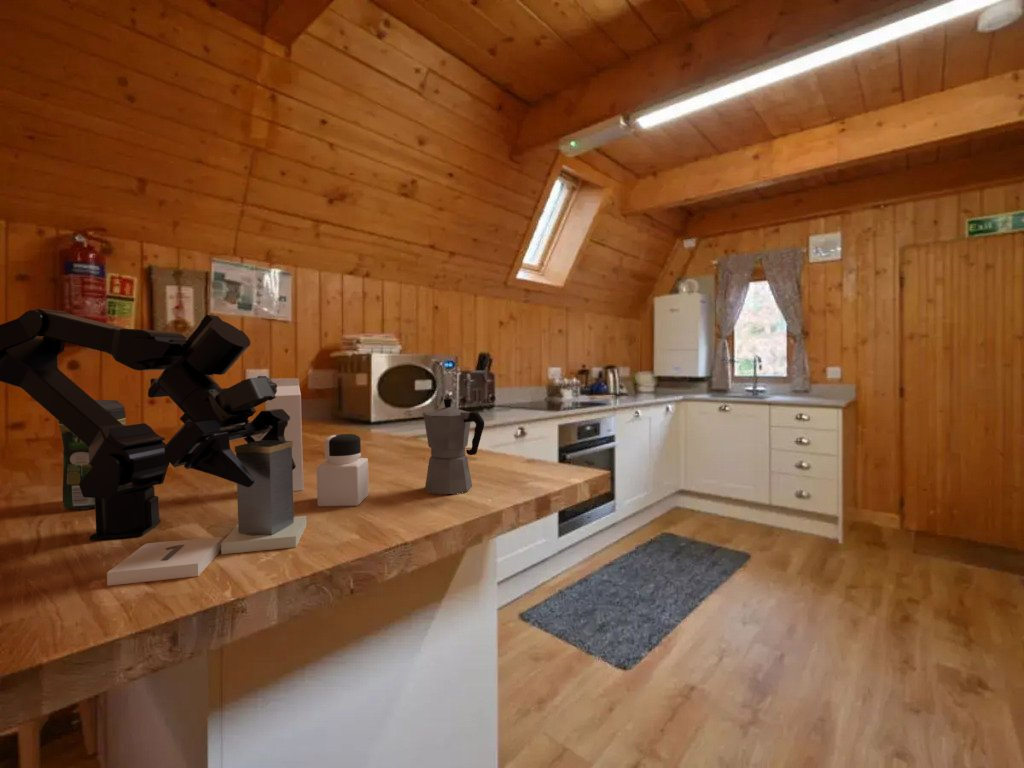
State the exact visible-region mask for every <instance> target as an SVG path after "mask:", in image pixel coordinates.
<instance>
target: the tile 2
mask: <svg viewBox="0 0 1024 768" xmlns="http://www.w3.org/2000/svg"><path fill="white" fill-rule="evenodd" d="M306 527H307V515H303V516H302V515H300V516H294V523H292V524H290V525H288V526H287V527H285V528H283V529H281V530H279V531H278V532H276V533H274V534H272V535H269V534H248V533H239V530H238V524H237V525H236V526H235V527H234V528H233V529H232V530H231V531H230V533H228V535H227V536H225V538H223V541H222V543H221V551H220V553H221V555H231V554H239V553H249V552H261V551H269V550H282V549H292V548H297V546H298V544H299V542H300V539H301V538H302V536H303V533H305V530H306Z"/></svg>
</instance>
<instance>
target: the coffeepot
mask: <svg viewBox="0 0 1024 768" xmlns="http://www.w3.org/2000/svg"><path fill="white" fill-rule="evenodd" d="M452 401H453V398H450V397H445V398H444V399H443V403H444V407H442V408H439V409H434V410H430V411H425V412H422V416H423V421H424V425H425V426H424V427H425V433H426V439H427V445H428V448H430V455H431V456H430V457H429V460H428V466H427V470H426V471H427V473H426V478H425V485H424V490H425V491H426V492H427V491H428V492H427V493H429V492H430V493H429V494H431V493H433V494H432V495H436V494H455V495H458V494H457V493H461V494H463V493H462V492H465V493H467V492H466V491H468V490H469V489H470V488H471V489H472V487H473V483H472V477H471V471H470V466H469V460H468V456H467V455H469V456H473V455H474V456H475V455H477V453H478V451H479V446H480V441H481V438H482V434H483V432H484V427H485V420H484V419H483V417H482V416H481V414H480V413H479V412H478V411H477V412H476V411H466V410H463V409H459V408H455V407H452ZM472 422H474V424H475V427H474V432H473V438H472V440H471V448H470V449H466V448H467V447H468V443H469V437H470V436H469V435H470V431H471V430H470V429H471V423H472ZM466 454H467V455H466ZM471 489H470V490H471ZM470 490H469V491H470ZM469 491H468V492H469Z"/></svg>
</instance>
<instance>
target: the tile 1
mask: <svg viewBox="0 0 1024 768" xmlns="http://www.w3.org/2000/svg"><path fill="white" fill-rule="evenodd" d="M223 540H224V536H215V537H206V538H196V539H195V538H193V539H184V540H183V539H182V540H172V541H171V540H170V541H160V542H159V541H157V542H149V543H148V542H147V543H144V544H143V545H142V546H140V547H139V548H138V549H136V550H135V551H133V552H132V553H131V554H130V555H128V556H127V557H125V558H124V559H123V560H122V561H121V562H119V563H117V565H115V566H114V567H113V568H111V569H110V570H108V571H107V572H106V578H107V579H106V581H107V587H108V586H118V585H126V584H137V583H138V584H139V583H145V582H146V583H147V582H155V581H164V580H174V579H184V578H185V579H186V578H194V577H199V576H200V575H201V574H202V573H203V572H204V570H205V569H206V568H207V567H208V566H209V565H210V564H211V562H212V561H214V559H215V558H216V557H217V556H218V554H219V553H221V543H222V541H223Z"/></svg>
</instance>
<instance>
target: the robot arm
mask: <svg viewBox="0 0 1024 768" xmlns="http://www.w3.org/2000/svg"><path fill="white" fill-rule="evenodd" d="M66 343H68V344H71V345H72V344H73V345H77V346H80V347H82V348H83V347H84V348H89V349H91V350H95V351H100V352H104V353H106V354H108V355H111V356H112V358H113V360H115V362H117V363H119V364H121V365H123V366H126V367H128V368H130V369H132V370H135V371H162V372H161V373H160V375H159V376H158V377H156V378H155V377H154V378H151V379H150V380H149V381H150V386H149V388H148V390H147V391H148V392H147V397H148V398H150V399H151V398H154V399H155V398H164V397H169V398H170V399H171V401H173V403H174V404H175V405H176V406H177V407H178V409H180V411H182V413H183V414H182V415H181V416H180V417H179V420H180V421H181V422H182V423H183V425H182V426H180V429H178V430H177V432H175V434H174V435H173V436H172V437H171V438H170V439H169V441H168V442H167V443H165V442H164V441H165V440H166V438H165V437H164V436H161V435H159V434H157V433H156V431H155V430H153V428H152V427H151V426H150V425H148V424H147V423H145V422H143V423H136V424H128V425H127V424H125V425H123V424H121V423H120V422H119V421H118V420H117V419H116V418H114V417H113V416H112V415H111V414H110V413H109V412H107V411H106V410H105V409H104V408H103V407H102V406H100V405H99V404H98V403H97V402H96V401H95V400H96V399H94V398H93V397H92V396H90V395H89V394H88V393H86V391H84V389H82V388H81V387H80V386H78V385H77V384H76V383H75V382H74V381H73V380H72V379H71V378H69V376H67V375H66V374H65V373H64V372H62V371H61V369H59V356H60V354H62V353H63V352H64V351H65V346H66V345H65V344H66ZM250 346H251V340H250V337H249V336H248V335H247V334H246V333H245V332H244V331H243V330H240V329H239V328H237V327H235V326H234V325H232V324H230V323H229V322H226V321H223V320H222V318H220V317H219V316H218V315H211V314H206V315H205V316H204V317H203V318H202V319H201V321H200V323H199V324H198V326H197V328H195V330H194V331H193V332H192V333H191V335H190V336H189V337H188V338H187V339H186V337H185V336H184V335H183V334H182V333H180V332H177V331H167V330H166V331H165V330H152V329H137V328H136V329H135V328H126V327H121V326H118V325H115V324H114V325H113V324H110V323H107V322H101V321H99V320H94V319H90V318H85V317H82V316H77V315H75V314H71V313H69V312H67V311H65V310H53V309H43V308H34V309H29V310H27V311H25V312H24V313H23V314H22V315H20V316H19V317H18V318H17V317H16V318H15V319H12V320H9V321H6V322H4V323H1V324H0V382H1V383H3V384H7V385H11V386H14V387H17V388H20V389H21V390H23V391H24V392H25V393H26V394H28V395H29V396H30V397H31V398H32V399H34V401H36V402H37V403H38V404H39V405H40V406H41V407H42V408H43V409H45V410H46V411H47V412H48V413H49V414H51V415H52V416H53V417H54V418H55V419H56V420H57V421H60V422H61V423H62V424H63V425H64V426H65V427H66V428H68V429H69V430H70V431H71V432H72V433H73V434H74V435H76V436H77V437H78V438H79V439H80V440H81V441H82V442H84V443H85V444H86V445H87V446H88V448H89V464H90V465H91V466H92V467H93V468H92V469H91V470H90V471H89V472H88V473H87V475H86V476H85V477H84V478H83V479H82V480H81V481H80V483H79V486H80V489H81V492H82V495H83V497H87V498H95V507H94V509H95V510H94V513H95V532H94V533H93V534H90V535H89V540H90V541H93V540H103V539H104V540H105V539H115V538H116V539H117V538H118V539H119V538H129V537H138V536H139V537H140V536H143V535H144V534H147V533H148V532H149V531H151V530H152V529H153V528H155V527H156V526H157V525H159V524H161V521H162V520H161V518H160V501H159V496H158V495H155V486H157V485H162V484H164V482H165V478H166V475H167V472H168V469H169V468H168V467H170V466H169V465H172V466H173V468H176V467H182V466H183V467H184V469H186V470H196V471H199V472H203V473H206V474H209V475H213V476H215V477H217V478H222V479H224V480H227V481H229V482H232V483H235V484H236V485H237V484H240V485H243V486H245V487H251V486H252V485H253V483H254V479H253V478H252V476H251V475H250V473H249V472H248V470H247V469H246V468H245V467H244V465H243V464H242V463H241V462H240V460H239V459H238V458H237V456H236V453H235V452H233V450H232V449H231V445H230V442H231V441H236V440H242V439H243V440H244V441H246V444H247V443H251V442H255V441H259V440H269V441H285V437H284V431H285V428H286V427H287V425H288V421H289V420H290V416H289V415H288V414H287V413H286V412H285V411H284V410H283V409H271V410H266V409H265V410H261V411H260V412H259V413H258V414H257V415H256V416H255V417H254V419H253V420H252V421H250V420H249V418H250V417H253V416H254V415H255V413H256V412H257V409H256V407H258V406H260V405H261V404H264V403H266V401H268V400H273V399H274V398H276V396H275V394H276V392H277V389H276V388H277V384H276V383H273V382H272V380H271V379H272V378H271V377H268V376H266V375H260V376H257V377H251V378H250V377H249V378H247V379H243V380H241V381H239V382H237V383H236V384H234V385H231V386H230V387H227V388H225V387H224V388H222V387H221V386H220V385H219V384H218V382H217V381H216V380H215V379H214V378H213V377H212V376H214V375H220V376H221V375H225V374H226V373H228V372H229V370H230V369H231V368H232V367H233V365H235V363H236V362H237V361H238V360H239V359H240V357H241V356H242V355H243V354H244V353H245V352H246V350H247V349H248V348H249V347H250ZM295 467H296V465H295V463H294V461H293V458H292V471H293V470H294V468H295Z"/></svg>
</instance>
